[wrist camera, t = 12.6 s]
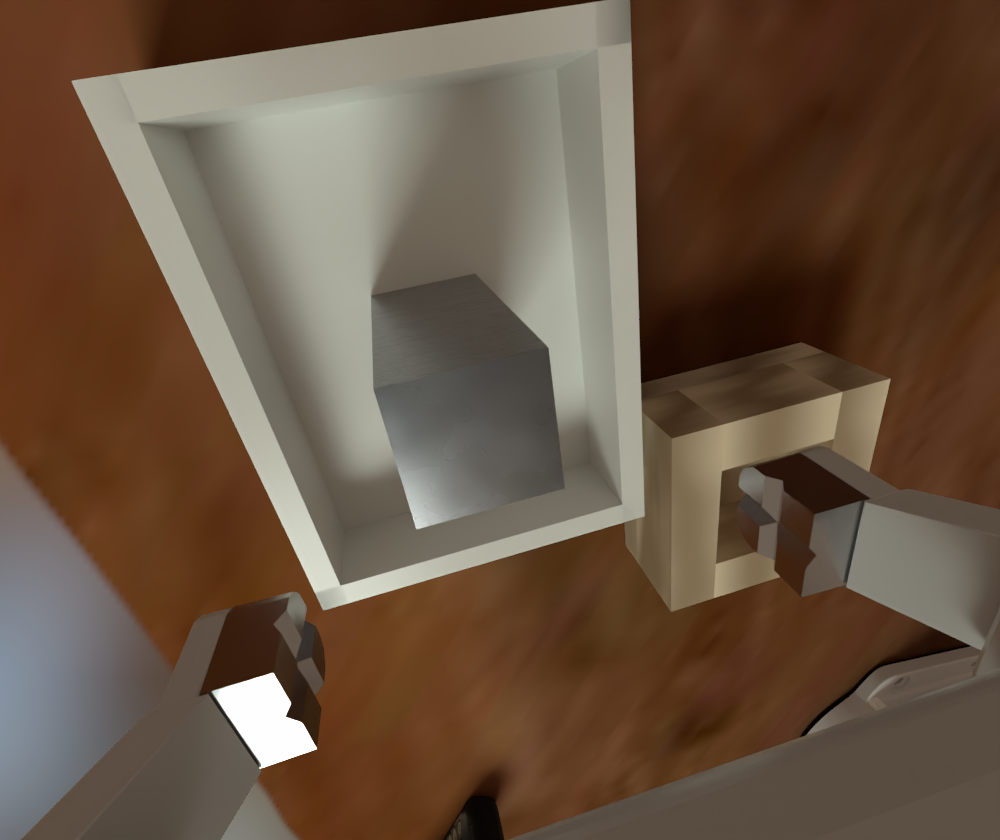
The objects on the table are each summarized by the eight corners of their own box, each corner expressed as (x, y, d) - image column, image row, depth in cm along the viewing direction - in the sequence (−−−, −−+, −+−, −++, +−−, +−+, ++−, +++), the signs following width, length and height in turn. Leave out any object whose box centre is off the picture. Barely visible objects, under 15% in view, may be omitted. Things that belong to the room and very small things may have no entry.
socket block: (801, 342, 26) (890, 378, 21) (780, 498, 30) (849, 554, 26) (617, 389, 24) (671, 438, 20) (625, 544, 29) (671, 611, 25)
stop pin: (475, 273, 19) (548, 347, 11) (491, 369, 21) (564, 488, 13) (370, 295, 19) (373, 388, 11) (397, 391, 21) (416, 529, 13)
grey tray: (571, 34, 17) (629, -4, 14) (603, 463, 26) (644, 516, 22) (145, 101, 16) (71, 80, 12) (330, 538, 24) (323, 610, 20)
